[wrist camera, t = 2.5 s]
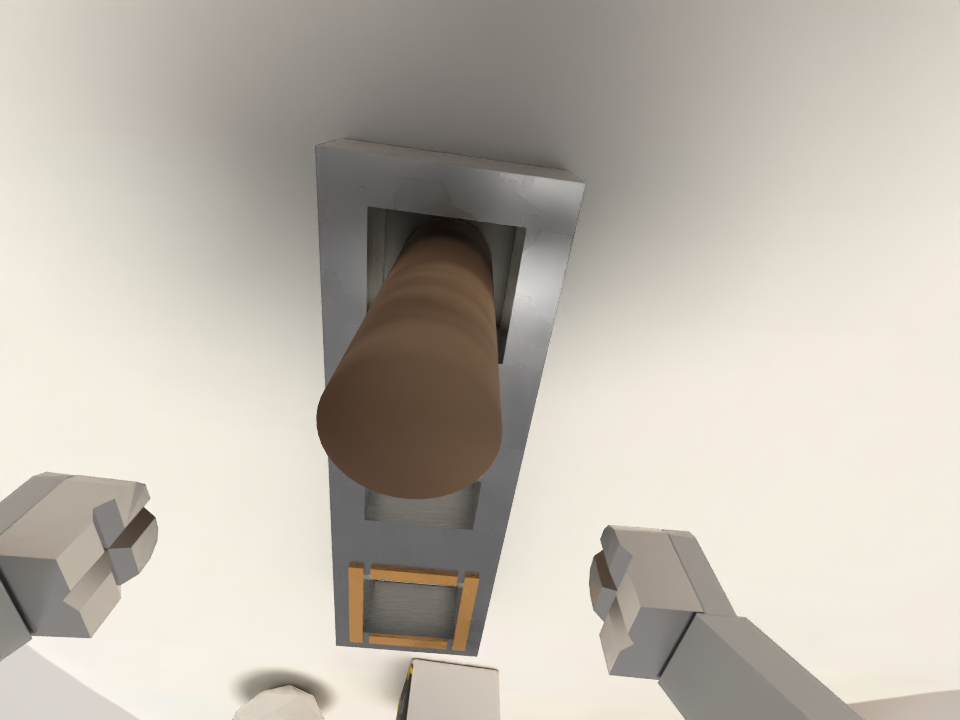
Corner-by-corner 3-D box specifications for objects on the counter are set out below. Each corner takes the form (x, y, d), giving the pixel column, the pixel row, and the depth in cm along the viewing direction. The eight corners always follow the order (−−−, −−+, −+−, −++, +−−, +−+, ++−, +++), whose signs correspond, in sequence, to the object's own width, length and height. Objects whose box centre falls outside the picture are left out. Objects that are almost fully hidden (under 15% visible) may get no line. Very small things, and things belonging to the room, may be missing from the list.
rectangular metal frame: (343, 138, 18) (312, 145, 15) (568, 170, 18) (586, 184, 15) (350, 593, 32) (335, 648, 29) (477, 604, 32) (477, 659, 29)
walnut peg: (459, 199, 19) (431, 315, 9) (508, 277, 21) (536, 454, 10) (384, 250, 20) (276, 409, 10) (436, 320, 22) (393, 521, 11)
